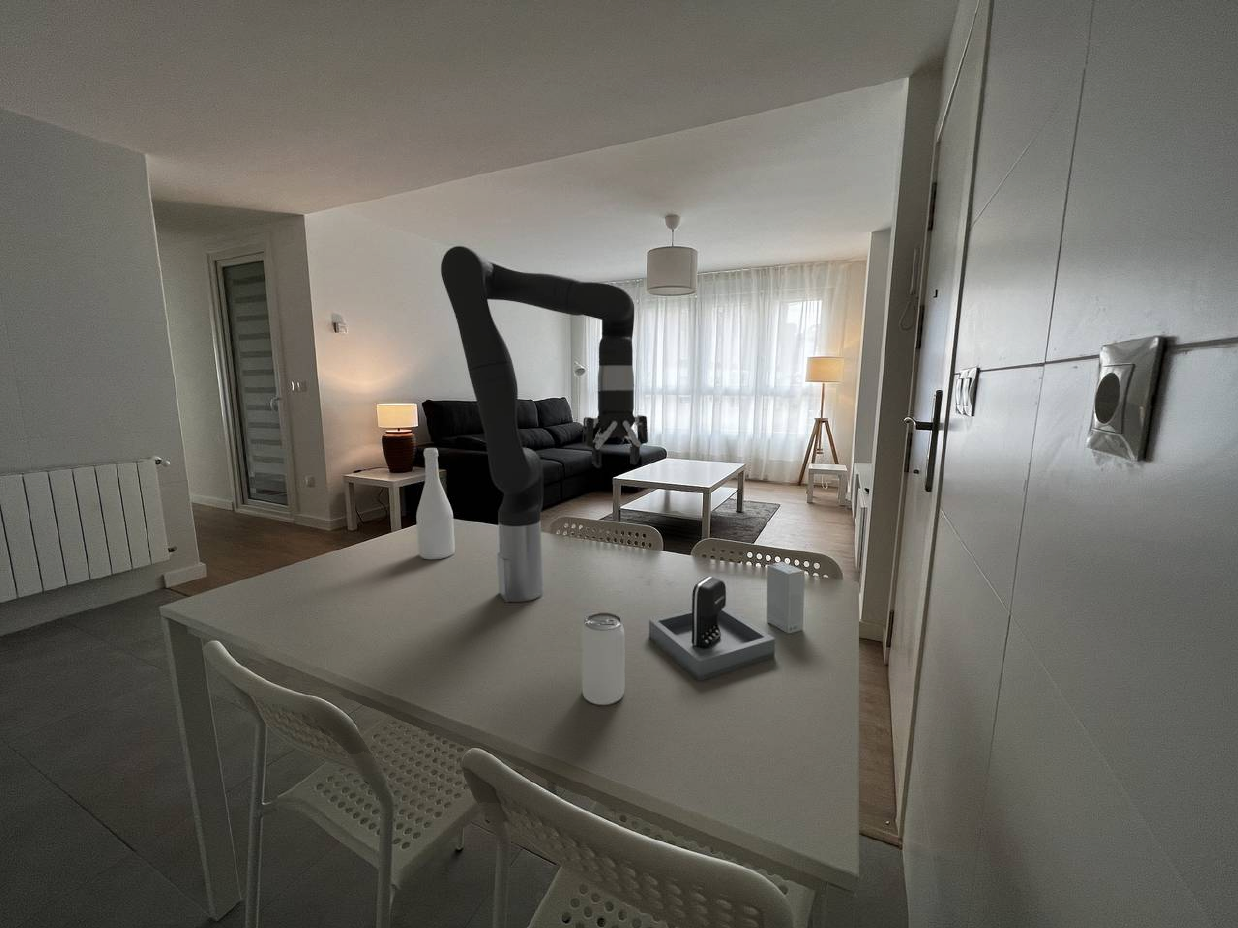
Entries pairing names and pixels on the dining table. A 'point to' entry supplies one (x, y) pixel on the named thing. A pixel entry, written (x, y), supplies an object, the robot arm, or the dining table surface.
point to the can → (603, 658)
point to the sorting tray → (726, 654)
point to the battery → (707, 611)
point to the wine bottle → (434, 514)
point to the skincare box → (785, 597)
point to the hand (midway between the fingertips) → (616, 465)
